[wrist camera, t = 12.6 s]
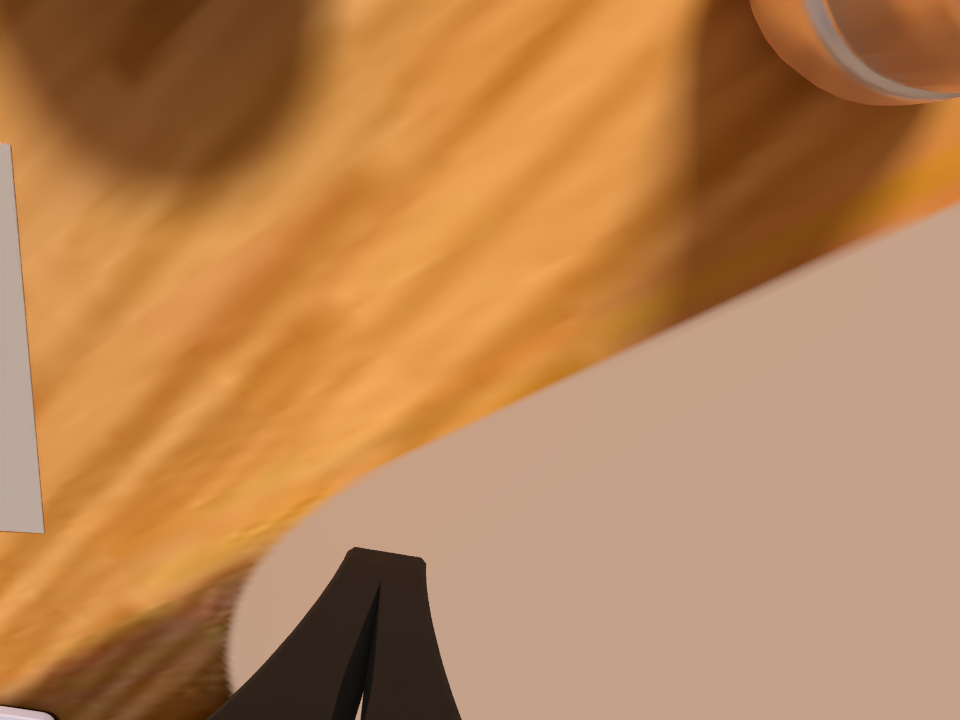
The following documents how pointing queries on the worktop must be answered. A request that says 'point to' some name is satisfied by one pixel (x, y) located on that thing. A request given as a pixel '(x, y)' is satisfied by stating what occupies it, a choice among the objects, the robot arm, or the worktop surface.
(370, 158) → the worktop surface
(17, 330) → the dock
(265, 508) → the worktop surface
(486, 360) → the worktop surface
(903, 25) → the plastic bottle
